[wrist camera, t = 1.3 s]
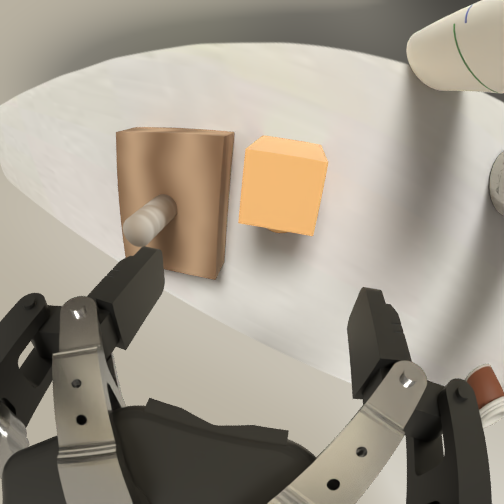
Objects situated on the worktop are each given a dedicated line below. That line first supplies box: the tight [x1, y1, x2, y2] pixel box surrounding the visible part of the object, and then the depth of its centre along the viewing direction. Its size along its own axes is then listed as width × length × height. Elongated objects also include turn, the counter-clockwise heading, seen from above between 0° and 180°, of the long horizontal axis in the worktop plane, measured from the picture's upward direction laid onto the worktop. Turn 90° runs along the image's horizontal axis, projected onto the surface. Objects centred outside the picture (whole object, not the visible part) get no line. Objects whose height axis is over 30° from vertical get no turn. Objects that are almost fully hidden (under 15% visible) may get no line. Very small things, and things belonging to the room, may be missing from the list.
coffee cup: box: [466, 364, 504, 428], centre depth 34 cm, size 9×9×12 cm
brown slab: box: [116, 127, 234, 280], centre depth 28 cm, size 12×16×10 cm
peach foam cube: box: [238, 136, 328, 236], centre depth 26 cm, size 9×6×9 cm, turn 174°
